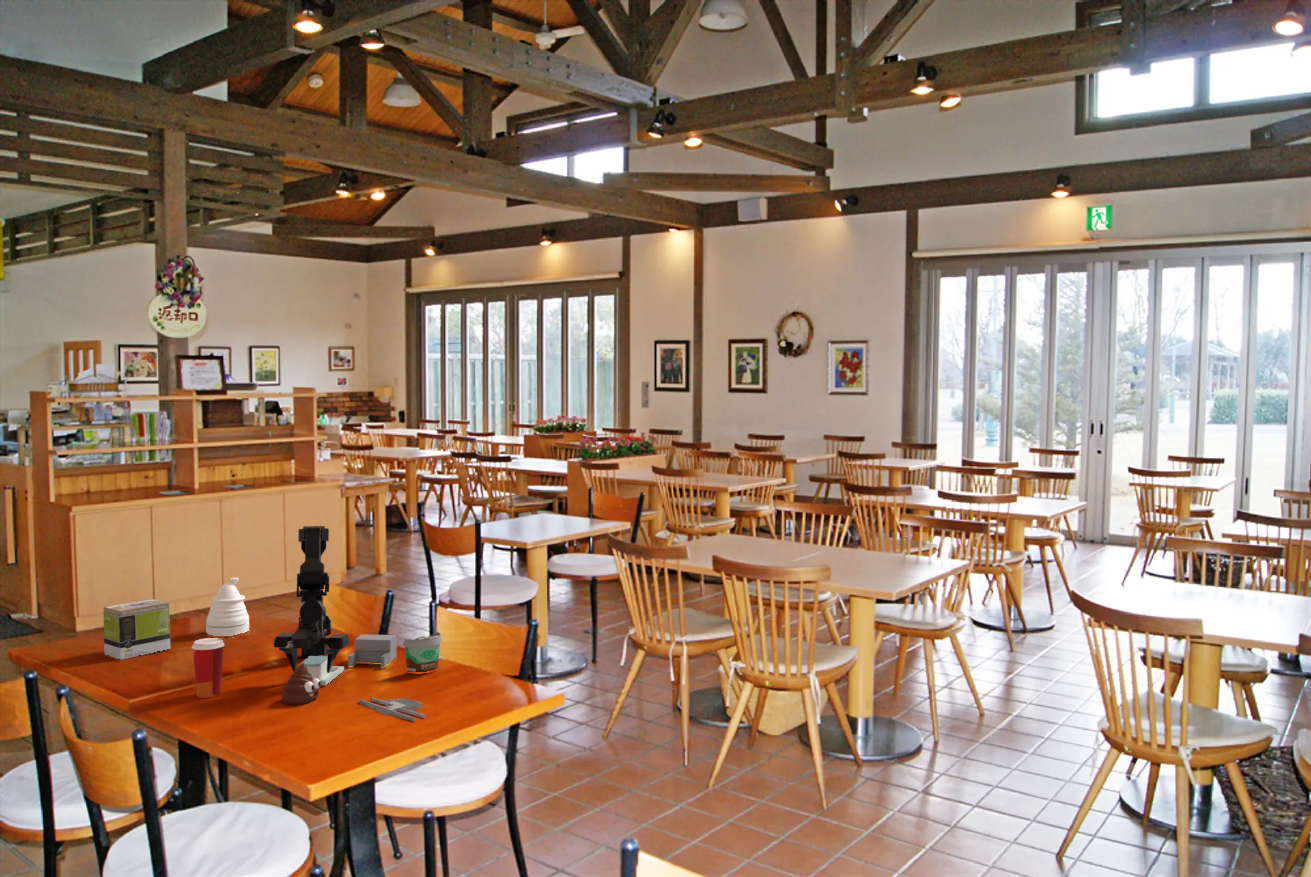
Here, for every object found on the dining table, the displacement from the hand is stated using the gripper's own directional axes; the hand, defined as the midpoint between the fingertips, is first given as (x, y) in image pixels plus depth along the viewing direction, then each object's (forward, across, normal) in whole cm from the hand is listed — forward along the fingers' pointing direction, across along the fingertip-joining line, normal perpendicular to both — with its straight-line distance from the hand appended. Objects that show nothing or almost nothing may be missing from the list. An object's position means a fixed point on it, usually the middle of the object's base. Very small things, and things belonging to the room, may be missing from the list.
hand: (311, 672), depth 259 cm
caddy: (+2, 0, +2) cm, 3 cm away
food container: (+3, +28, +13) cm, 31 cm away
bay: (+3, +10, +20) cm, 23 cm away
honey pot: (+3, -48, +52) cm, 71 cm away
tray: (+3, 0, +4) cm, 5 cm away
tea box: (+3, -63, +26) cm, 68 cm away
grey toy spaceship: (+3, +29, -21) cm, 36 cm away
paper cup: (+3, -22, -13) cm, 26 cm away
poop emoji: (+3, +3, -15) cm, 16 cm away
